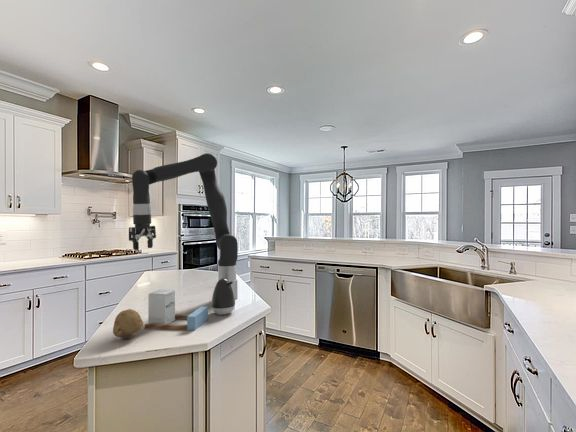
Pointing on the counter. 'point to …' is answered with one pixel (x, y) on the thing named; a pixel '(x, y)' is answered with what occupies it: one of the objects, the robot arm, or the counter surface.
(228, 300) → the pump dispenser
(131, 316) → the brown potato
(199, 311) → the blue rectangular block
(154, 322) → the supplement box
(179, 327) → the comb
